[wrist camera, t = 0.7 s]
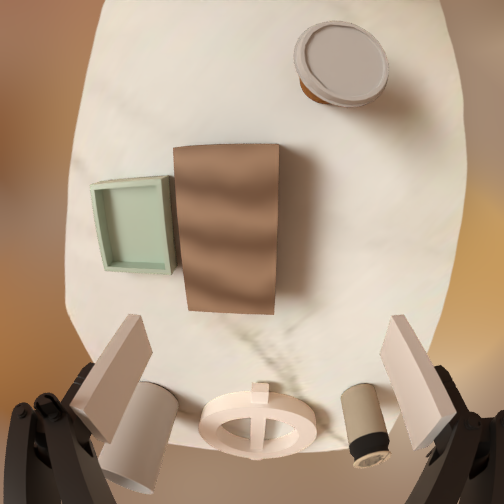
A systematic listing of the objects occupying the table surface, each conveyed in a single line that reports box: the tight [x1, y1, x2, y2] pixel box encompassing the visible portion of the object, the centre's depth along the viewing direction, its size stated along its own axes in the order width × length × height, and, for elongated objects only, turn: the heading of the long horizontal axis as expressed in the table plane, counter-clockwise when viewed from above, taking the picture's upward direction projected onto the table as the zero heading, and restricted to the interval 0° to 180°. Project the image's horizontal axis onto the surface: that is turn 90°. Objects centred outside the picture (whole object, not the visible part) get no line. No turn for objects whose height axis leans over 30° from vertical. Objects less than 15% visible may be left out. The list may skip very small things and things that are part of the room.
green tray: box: [90, 175, 177, 275], centre depth 38 cm, size 14×12×3 cm
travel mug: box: [341, 384, 391, 468], centre depth 44 cm, size 8×8×18 cm
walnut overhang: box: [173, 144, 279, 315], centre depth 36 cm, size 22×12×6 cm, turn 0°
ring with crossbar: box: [198, 383, 317, 460], centre depth 56 cm, size 28×28×5 cm
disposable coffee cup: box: [294, 21, 389, 107], centre depth 25 cm, size 10×10×12 cm
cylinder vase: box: [98, 382, 179, 494], centre depth 46 cm, size 12×12×25 cm
